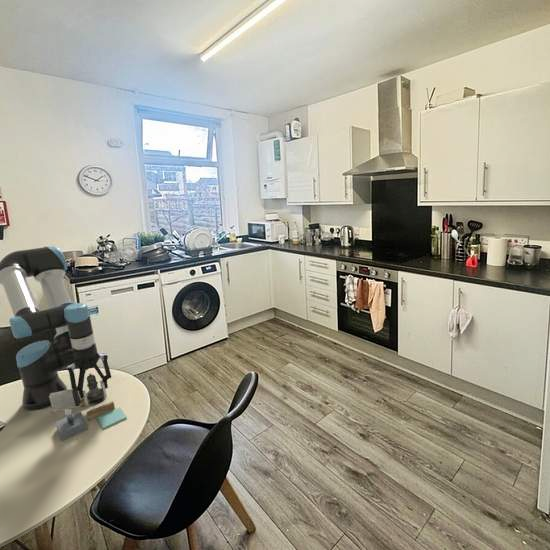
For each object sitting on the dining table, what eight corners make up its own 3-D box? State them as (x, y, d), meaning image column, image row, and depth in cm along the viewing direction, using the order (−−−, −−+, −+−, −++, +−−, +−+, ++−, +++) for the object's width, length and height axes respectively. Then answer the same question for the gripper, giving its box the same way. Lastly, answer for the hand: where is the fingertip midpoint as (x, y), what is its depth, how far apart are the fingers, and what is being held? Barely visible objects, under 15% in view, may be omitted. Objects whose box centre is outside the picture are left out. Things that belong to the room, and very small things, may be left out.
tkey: (56, 425, 116) (48, 396, 113) (58, 421, 118) (50, 393, 115) (82, 419, 118) (75, 390, 115) (84, 416, 120) (77, 387, 117)
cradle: (81, 405, 132) (79, 398, 131) (105, 395, 138) (104, 388, 137) (89, 420, 123) (87, 413, 122) (115, 409, 128) (113, 402, 128)
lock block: (57, 429, 119) (55, 421, 119) (82, 418, 124) (80, 411, 123) (61, 441, 113) (59, 433, 113) (87, 429, 118) (86, 421, 118)
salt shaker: (97, 406, 127) (91, 378, 123) (83, 404, 128) (77, 377, 124) (107, 396, 132) (102, 369, 129) (94, 395, 133) (88, 368, 130)
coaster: (97, 418, 124) (96, 417, 124) (119, 408, 129) (119, 407, 129) (103, 429, 118) (102, 427, 118) (126, 418, 123) (126, 416, 123)
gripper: (56, 358, 115) (70, 416, 121) (114, 340, 127) (124, 393, 133) (52, 350, 120) (66, 406, 127) (108, 333, 132) (118, 385, 138)
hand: (95, 399), depth 130 cm, fingers closed on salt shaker, 6 cm apart
